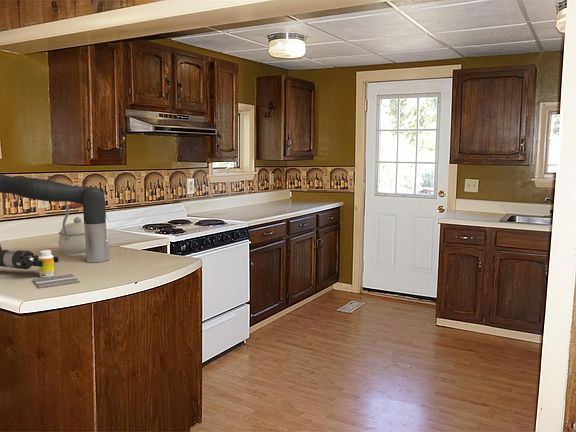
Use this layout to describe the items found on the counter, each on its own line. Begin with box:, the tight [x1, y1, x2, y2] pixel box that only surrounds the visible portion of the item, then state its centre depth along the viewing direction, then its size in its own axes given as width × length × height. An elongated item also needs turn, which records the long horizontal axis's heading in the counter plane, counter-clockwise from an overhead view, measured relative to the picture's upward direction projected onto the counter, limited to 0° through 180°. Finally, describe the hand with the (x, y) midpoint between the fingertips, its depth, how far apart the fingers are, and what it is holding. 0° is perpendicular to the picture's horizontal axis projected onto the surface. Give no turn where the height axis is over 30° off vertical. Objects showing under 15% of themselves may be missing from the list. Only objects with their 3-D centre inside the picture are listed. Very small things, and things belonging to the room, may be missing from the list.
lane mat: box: [32, 273, 81, 289], centre depth 195 cm, size 14×14×1 cm
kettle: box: [58, 202, 86, 257], centre depth 251 cm, size 25×18×25 cm
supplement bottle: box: [38, 249, 56, 278], centre depth 204 cm, size 6×6×10 cm
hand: (50, 261), depth 203 cm, fingers open, 7 cm apart
